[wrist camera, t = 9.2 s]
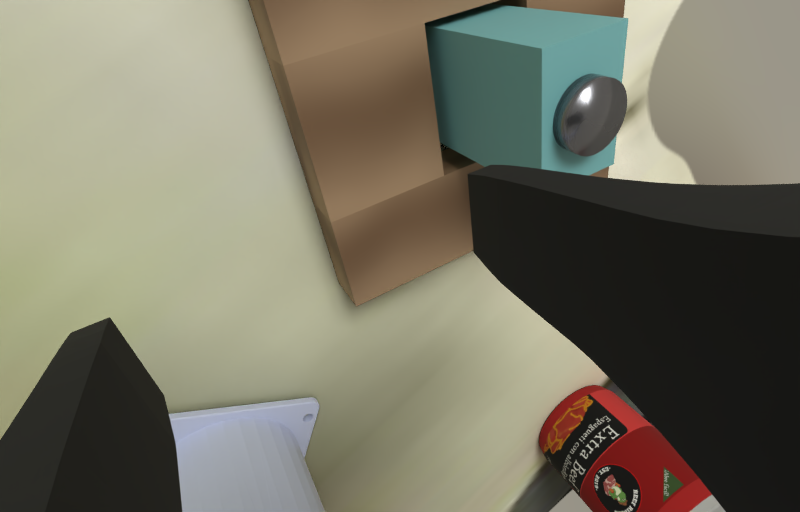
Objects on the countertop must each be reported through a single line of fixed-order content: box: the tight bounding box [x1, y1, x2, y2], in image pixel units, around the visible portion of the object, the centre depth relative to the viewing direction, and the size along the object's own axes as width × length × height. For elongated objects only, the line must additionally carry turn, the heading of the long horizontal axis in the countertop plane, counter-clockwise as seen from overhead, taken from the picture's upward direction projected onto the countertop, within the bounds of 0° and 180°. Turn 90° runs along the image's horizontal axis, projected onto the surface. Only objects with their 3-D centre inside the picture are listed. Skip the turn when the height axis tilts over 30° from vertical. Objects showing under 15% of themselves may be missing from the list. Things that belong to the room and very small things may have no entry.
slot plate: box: [249, 0, 625, 306], centre depth 19 cm, size 14×14×2 cm
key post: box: [425, 4, 628, 176], centre depth 16 cm, size 4×3×8 cm
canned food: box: [539, 385, 726, 512], centre depth 35 cm, size 8×8×11 cm
